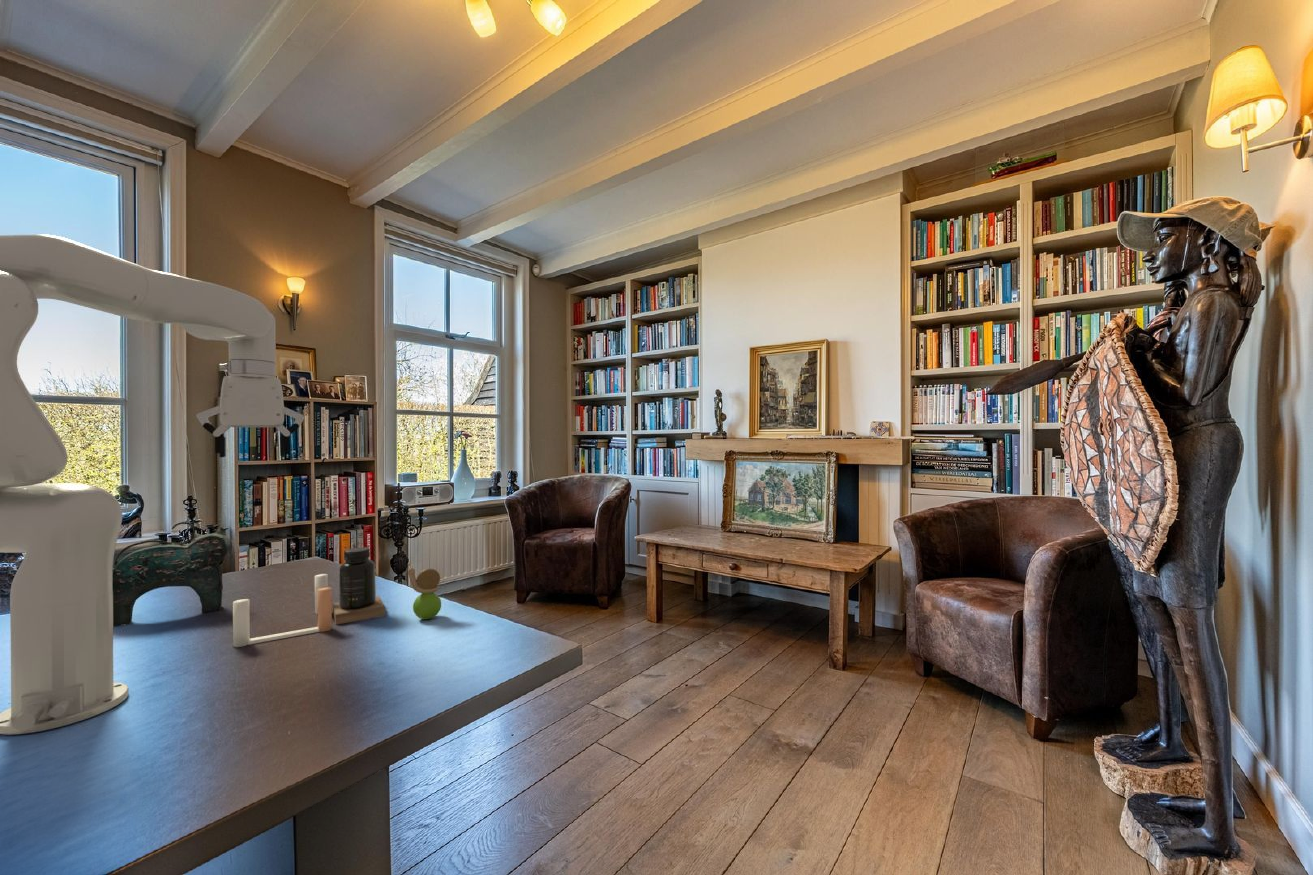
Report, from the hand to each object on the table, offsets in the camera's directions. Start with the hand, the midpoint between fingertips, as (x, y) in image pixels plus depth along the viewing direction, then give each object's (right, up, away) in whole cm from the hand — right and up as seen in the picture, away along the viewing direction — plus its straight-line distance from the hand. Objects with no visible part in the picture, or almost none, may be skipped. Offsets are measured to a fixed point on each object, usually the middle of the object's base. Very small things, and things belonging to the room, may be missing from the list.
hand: (253, 456), depth 107 cm
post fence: (+6, -34, 0) cm, 35 cm away
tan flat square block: (+17, -34, +7) cm, 39 cm away
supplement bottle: (+17, -32, +7) cm, 37 cm away
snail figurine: (+33, -34, +4) cm, 48 cm away
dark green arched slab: (-23, -35, +7) cm, 42 cm away
